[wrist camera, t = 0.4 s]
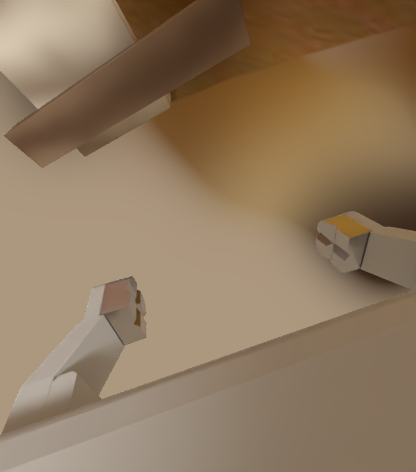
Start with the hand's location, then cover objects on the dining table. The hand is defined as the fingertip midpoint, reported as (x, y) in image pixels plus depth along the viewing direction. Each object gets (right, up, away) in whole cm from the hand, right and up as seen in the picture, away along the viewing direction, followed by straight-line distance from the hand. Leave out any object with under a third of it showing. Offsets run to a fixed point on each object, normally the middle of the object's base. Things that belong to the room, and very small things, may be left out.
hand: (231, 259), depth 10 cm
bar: (-9, +16, +13) cm, 23 cm away
